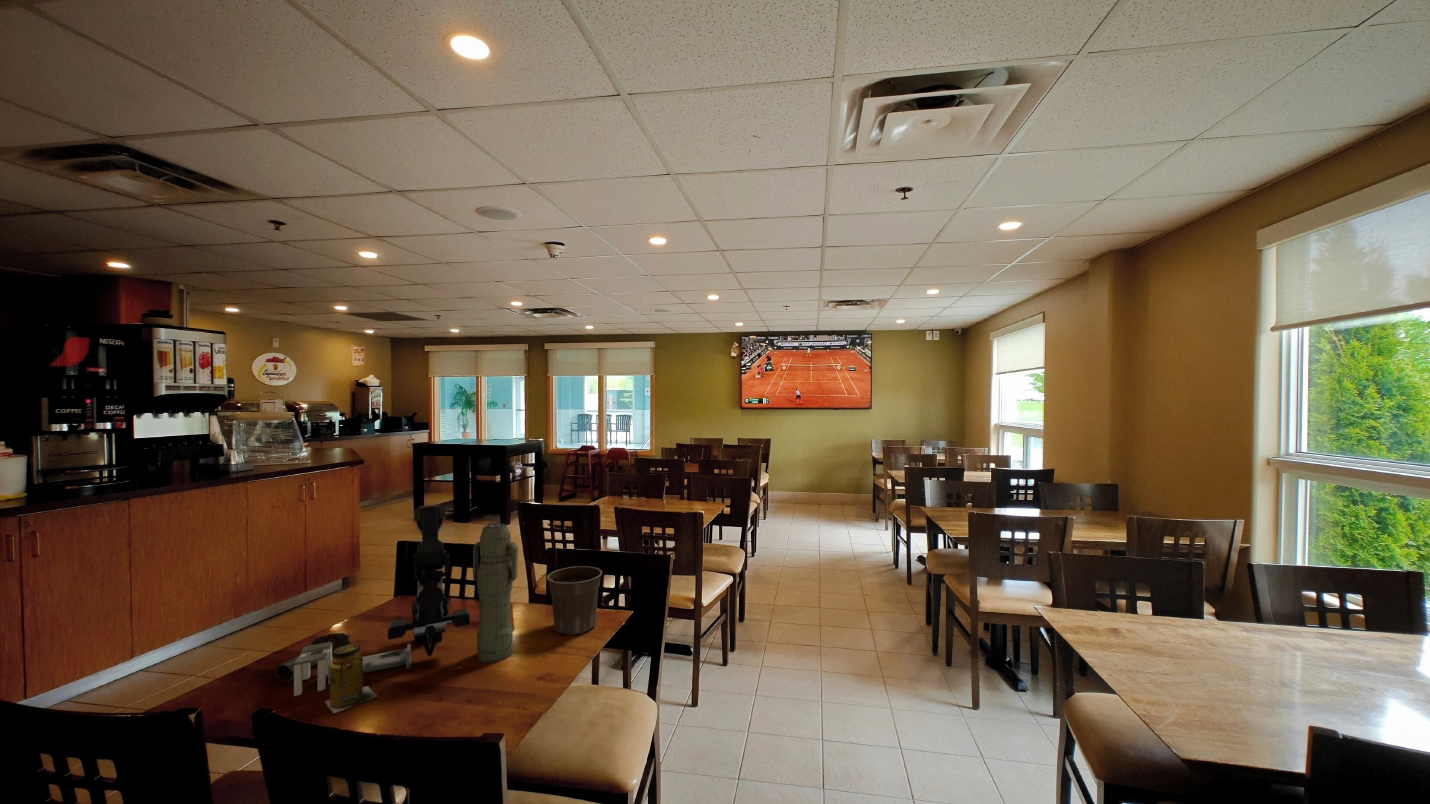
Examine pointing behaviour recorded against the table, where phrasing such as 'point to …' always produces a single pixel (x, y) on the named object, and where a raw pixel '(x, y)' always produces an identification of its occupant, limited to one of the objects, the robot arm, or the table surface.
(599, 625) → the table surface
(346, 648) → the condiment
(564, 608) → the plant pot
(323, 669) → the grey staple-shaped bracket
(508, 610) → the grey stone statue
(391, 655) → the air tube
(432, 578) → the robot arm
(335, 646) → the dark piece
